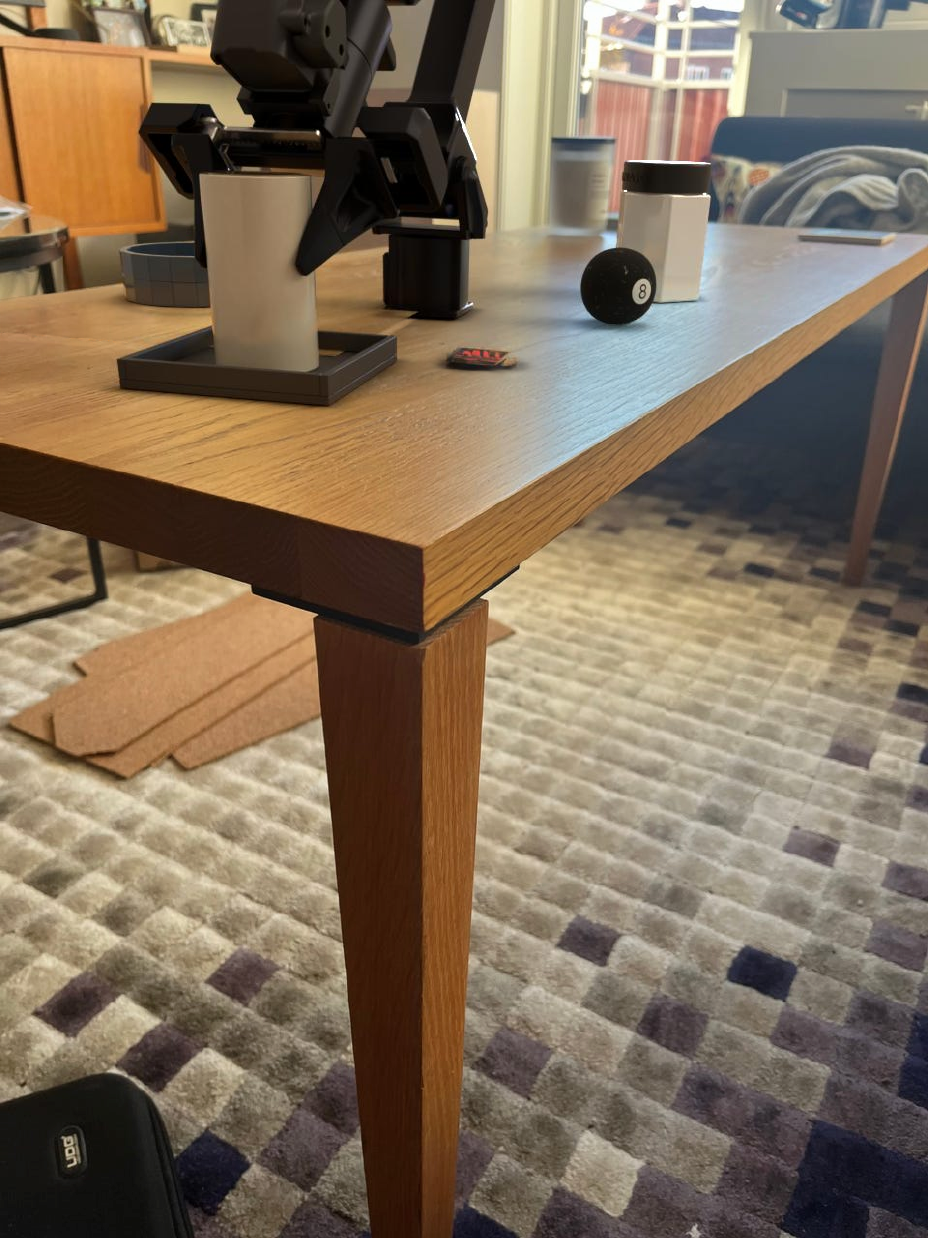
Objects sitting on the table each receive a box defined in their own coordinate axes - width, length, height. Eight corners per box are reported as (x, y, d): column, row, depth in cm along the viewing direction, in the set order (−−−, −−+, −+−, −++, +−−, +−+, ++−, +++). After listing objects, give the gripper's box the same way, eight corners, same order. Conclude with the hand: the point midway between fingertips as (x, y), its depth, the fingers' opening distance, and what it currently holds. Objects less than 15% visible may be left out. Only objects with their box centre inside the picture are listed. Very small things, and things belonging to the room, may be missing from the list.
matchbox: (445, 366, 65) (445, 359, 65) (448, 351, 70) (448, 344, 70) (516, 368, 65) (517, 361, 65) (515, 353, 70) (515, 346, 70)
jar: (608, 288, 102) (618, 159, 97) (688, 290, 102) (703, 161, 97) (616, 301, 94) (628, 161, 89) (703, 304, 94) (720, 164, 89)
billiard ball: (610, 333, 79) (617, 252, 76) (563, 321, 84) (568, 244, 81) (666, 327, 82) (675, 249, 79) (619, 316, 86) (625, 242, 84)
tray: (397, 361, 67) (397, 335, 67) (328, 406, 56) (327, 375, 55) (219, 347, 70) (217, 322, 69) (119, 387, 59) (115, 358, 58)
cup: (260, 351, 67) (248, 169, 62) (339, 362, 64) (333, 173, 59) (193, 368, 62) (174, 171, 57) (276, 381, 59) (264, 176, 54)
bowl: (291, 297, 92) (288, 245, 90) (233, 318, 81) (228, 259, 79) (170, 290, 94) (165, 239, 92) (98, 309, 83) (90, 252, 81)
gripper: (138, -52, 59) (37, 156, 54) (432, -62, 53) (346, 169, 49) (222, 103, 69) (142, 290, 65) (477, 108, 63) (409, 312, 59)
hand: (249, 267), depth 59 cm, fingers closed on cup, 6 cm apart
